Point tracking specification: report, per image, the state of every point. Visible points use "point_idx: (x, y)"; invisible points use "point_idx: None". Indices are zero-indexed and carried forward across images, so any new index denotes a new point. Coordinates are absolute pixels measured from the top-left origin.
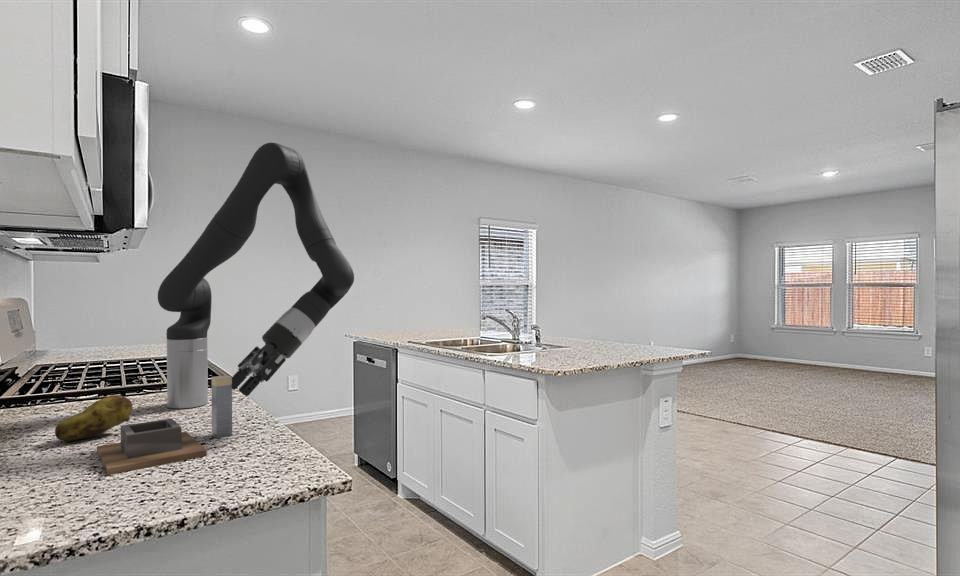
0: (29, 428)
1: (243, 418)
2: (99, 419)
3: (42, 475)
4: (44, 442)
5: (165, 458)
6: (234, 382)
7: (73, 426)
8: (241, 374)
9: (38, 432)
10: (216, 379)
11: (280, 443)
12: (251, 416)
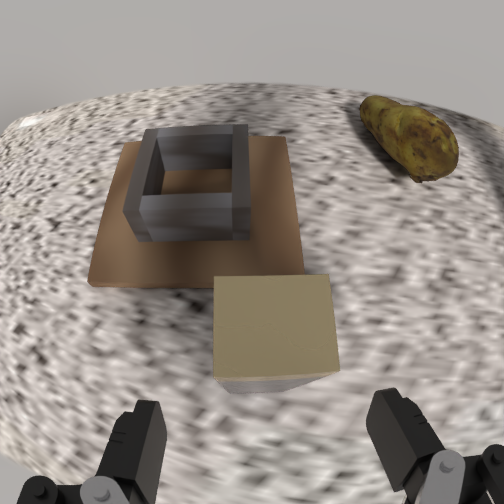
0: (463, 124)
1: None
2: (377, 126)
3: (199, 101)
4: None
5: (104, 209)
6: (382, 426)
7: (364, 107)
8: (403, 468)
9: None
10: (215, 279)
11: (65, 449)
12: None
